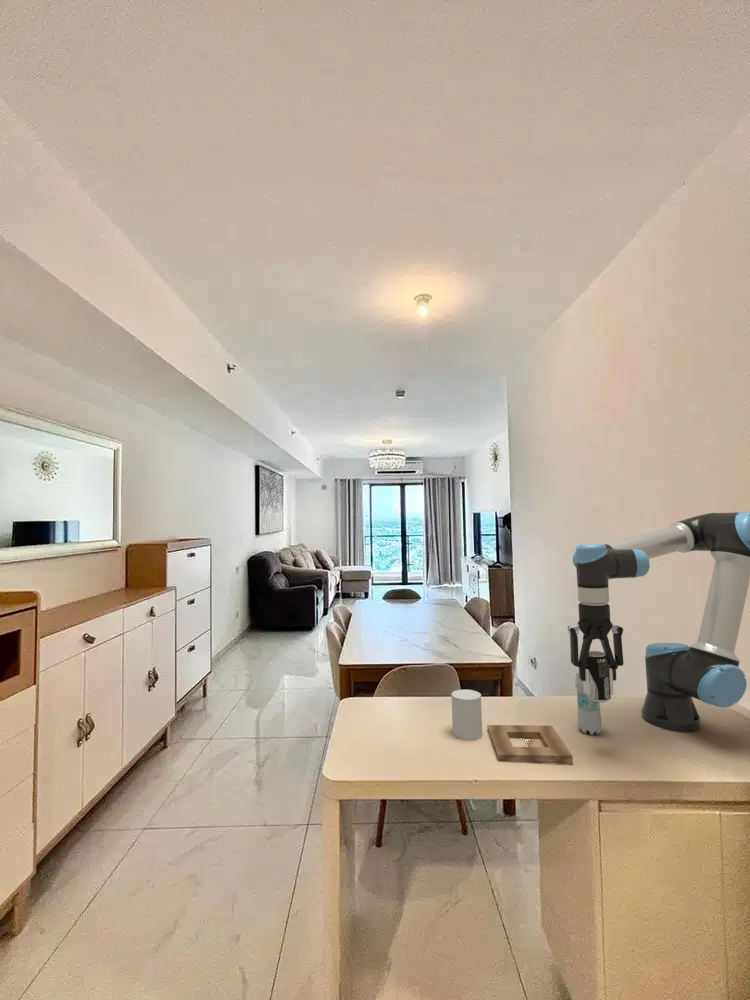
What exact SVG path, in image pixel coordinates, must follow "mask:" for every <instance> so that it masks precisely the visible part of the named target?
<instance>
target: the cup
mask: <svg viewBox="0 0 750 1000" xmlns="http://www.w3.org/2000/svg"><path fill="white" fill-rule="evenodd" d="M482 712H483V710H482V694H481V693H480V692H478V691H476V690H473V689H458V690H454V691H452V693H451V716H452V717H451V719H452V720H451V721H452V735H453V736H454V737H455V738H456V739H457V738H458V739H461V740H463V741H477V740H480V739H482V737H483V720H482V719H483V717H482V715H483V713H482Z"/></svg>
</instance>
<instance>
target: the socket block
mask: <svg viewBox="0 0 750 1000" xmlns="http://www.w3.org/2000/svg"><path fill="white" fill-rule="evenodd" d="M486 728H487V729H486V730H487V733H488V735H489V738H490V741H491V744H492V747H493V749H494V750H493V751H494V753H495V755H496V759H497V761H498V762H503V763H504V762H505V763H506V762H507V763H522V762H525V763H526V762H527V763H528V764H530V763H531V764H542V763H556V764H555V765H562V764H568V765H569V766H573V765H574V762H573V761H574V760H573V759H574V758H573V754H572V753H571V752H570V750H569V748H568V747H567V745H566V744H565V742H564V741H563V739H562V738H561V737H560V735H559V734H558V733H557V731H556V729H555V727H553V725H542V724H541V725H536V724H535V725H533V724H532V725H528V724H527V725H525V724H524V725H522V724H521V725H520V724H518V725H517V724H513V725H512V724H487V727H486ZM520 738H522V739H523V738H524V739H523V740H525V739H530V741H529V740H528V742H529V743H528V742H527V741H526V742H527V744H528V745H527V744H526V743H525V742H523V746H513V743H512V741H511V739H520ZM522 739H521V740H522ZM532 739H533V740H532ZM524 743H525V744H526V745H527V746H528V747H526V746H525V745H524ZM524 746H525V747H524ZM557 763H558V764H557Z"/></svg>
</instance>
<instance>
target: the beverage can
mask: <svg viewBox="0 0 750 1000" xmlns="http://www.w3.org/2000/svg"><path fill="white" fill-rule="evenodd" d="M586 668H587V669H589V683H590V695H587V697H588V698H589V699H590V700H592V701H594V702H599V703H600V704H601V703H607V702H609V701H610V700H611V699H612V697H611V696H612V695H611V694H610V679H609V664H608V659H607V658H606V656H605V653H604V651H598V650H591V651H590V650H589V655H588V660H587V664H586Z"/></svg>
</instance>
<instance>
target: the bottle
mask: <svg viewBox="0 0 750 1000" xmlns="http://www.w3.org/2000/svg"><path fill="white" fill-rule="evenodd" d="M575 688H576V693H577V694H576V696H577V726H578V730H579V731H580V732H582V733H583V734H585V735H586V734H587V733H589V734H590V735H591V736H593V735H594V734H595V735H599V734H600V732H601V730H602V726H603V725H602V715H601V703H599V702H594V701H592V700H590V699H589V698H588V697H587V694H586V693H585V692H584V687H583V681H582V680H581V679H580V678H579V669H578V670H576V672H575Z"/></svg>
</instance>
